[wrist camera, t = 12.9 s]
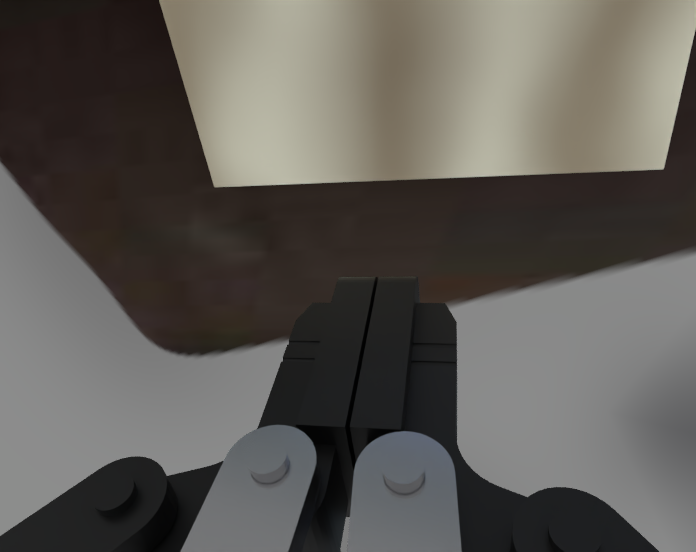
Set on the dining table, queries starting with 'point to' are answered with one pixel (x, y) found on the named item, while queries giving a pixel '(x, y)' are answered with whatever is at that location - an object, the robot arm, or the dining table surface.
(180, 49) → the board
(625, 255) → the dining table surface
